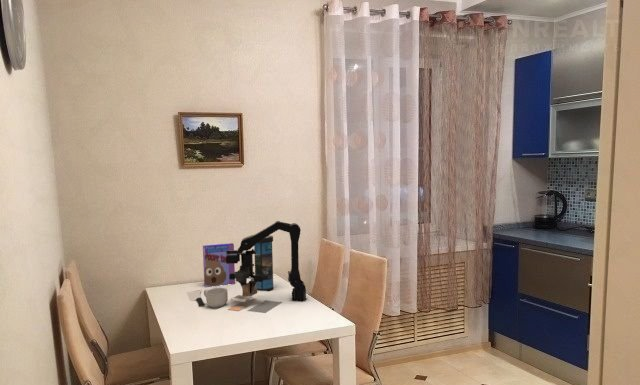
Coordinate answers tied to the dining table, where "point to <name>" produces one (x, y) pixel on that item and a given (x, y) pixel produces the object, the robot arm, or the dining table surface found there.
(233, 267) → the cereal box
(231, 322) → the dining table surface
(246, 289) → the turner
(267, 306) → the mat
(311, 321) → the dining table surface
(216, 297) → the teacup
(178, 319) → the dining table surface
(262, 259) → the advertising column
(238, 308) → the tile
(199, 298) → the kitchen cleaver
